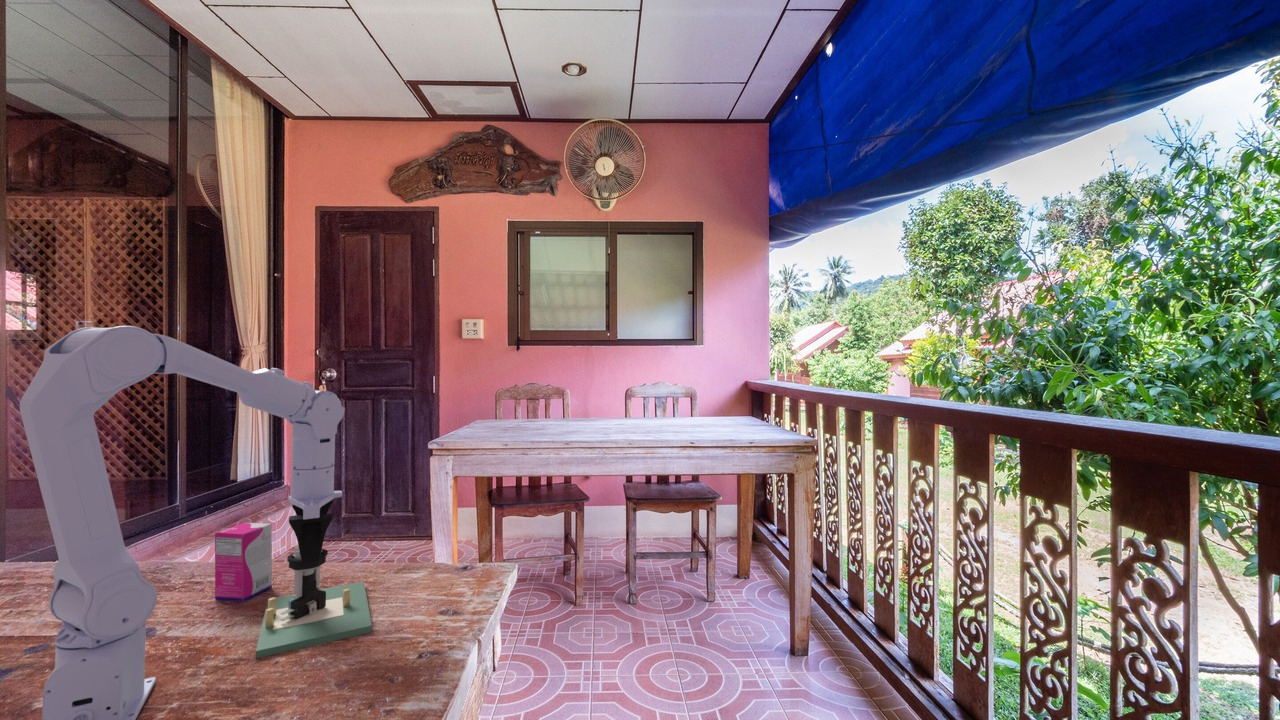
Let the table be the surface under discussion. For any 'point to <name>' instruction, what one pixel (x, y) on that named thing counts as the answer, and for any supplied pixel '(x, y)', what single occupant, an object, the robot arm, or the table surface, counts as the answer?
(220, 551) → the supplement box
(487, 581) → the table surface
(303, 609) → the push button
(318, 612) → the board
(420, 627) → the table surface
